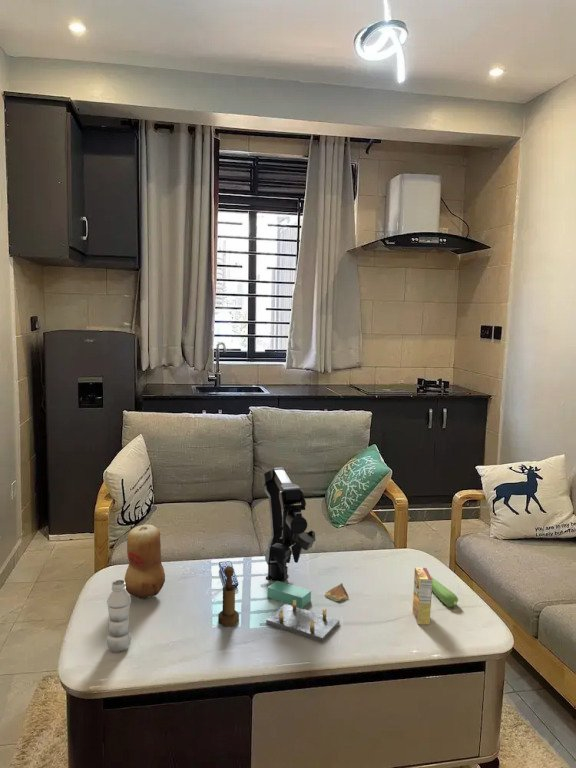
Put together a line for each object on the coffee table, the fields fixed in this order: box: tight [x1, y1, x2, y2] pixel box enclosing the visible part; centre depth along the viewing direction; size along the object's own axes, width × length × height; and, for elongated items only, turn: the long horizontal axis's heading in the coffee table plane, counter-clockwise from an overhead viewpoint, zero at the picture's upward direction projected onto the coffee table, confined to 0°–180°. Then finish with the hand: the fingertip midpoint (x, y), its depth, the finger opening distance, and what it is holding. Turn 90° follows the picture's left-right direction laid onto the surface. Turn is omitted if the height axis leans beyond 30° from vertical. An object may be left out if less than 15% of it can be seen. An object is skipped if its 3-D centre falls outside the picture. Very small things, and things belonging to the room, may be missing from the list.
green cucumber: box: [431, 576, 459, 608], centre depth 201 cm, size 5×20×5 cm
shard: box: [324, 583, 349, 602], centre depth 201 cm, size 11×8×2 cm
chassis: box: [265, 600, 340, 643], centre depth 180 cm, size 20×12×4 cm, turn 60°
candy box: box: [412, 567, 433, 626], centre depth 185 cm, size 9×4×15 cm, turn 0°
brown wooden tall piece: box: [217, 566, 240, 627], centre depth 180 cm, size 7×6×18 cm
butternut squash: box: [124, 524, 166, 600], centre depth 195 cm, size 14×13×25 cm
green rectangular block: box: [266, 581, 312, 609], centre depth 196 cm, size 14×6×4 cm, turn 58°
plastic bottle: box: [106, 579, 132, 653], centre depth 164 cm, size 6×7×20 cm
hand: (289, 567), depth 195 cm, fingers open, 9 cm apart
